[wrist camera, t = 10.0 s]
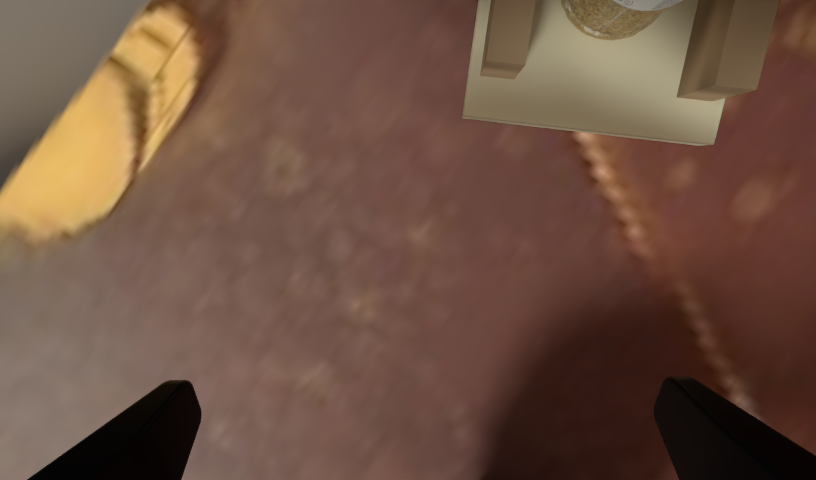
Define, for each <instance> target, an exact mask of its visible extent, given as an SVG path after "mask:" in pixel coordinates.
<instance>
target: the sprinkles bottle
mask: <svg viewBox="0 0 816 480" xmlns="http://www.w3.org/2000/svg"><path fill="white" fill-rule="evenodd" d="M680 1H682V0H561V5H562V7H563V9H564V11H565V13H566V15H567V18H568V19H569V20H570V21H571V22H572V23H573V24H574V26H575V27H576V28H577V29H579V30H580V31H581V32H582V33H584V34H585V35H588V36H591V37H594V38H595V39H599V40H618V39H619V40H620V39H623V38H628V37H632V36H634V35H635V34H637V33H638V32H640V31H642V30H644V29H645V28H647V27H648V26H649V25H650V24H652V23H653V22H654V21H655V20H656V19H657V18H658V17H659V16H660V15H661V14H662V13H663V12H665V11H666V10H667V9H669V8H670V7H672V6H673V5H675V4H677V3H679V2H680Z"/></svg>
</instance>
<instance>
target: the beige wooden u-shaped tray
mask: <svg viewBox="0 0 816 480" xmlns="http://www.w3.org/2000/svg"><path fill="white" fill-rule="evenodd" d="M779 1H780V0H682V1H680V2H679V3H677V4H675V5H673V6H672V7H670V8H669V9H667V10H666V11H665V12H663V13H662V14H661V15H660V16H659V17H658V18H657V19H656V20H655V21H654V22H653V23H652V24H650V25H649V26H648V27H647V28H645V29H644V30H642V31H640V32H638V33H637V34H635V35H634V36H632V37H628V38H623V39H620V40H619V39H618V40H599V39H595V38H594V37H591V36H588V35H585V34H584V33H582V32H581V31H580V30H579V29H577V28H576V27H575V26H574V24H573V23H572V22H571V21H570V20H569V19H568V18H567V15H566V13H565V11H564V9H563V7H562V5H561V0H478V6H477V14H476V21H475V28H474V35H473V42H472V49H471V56H470V63H469V71H468V78H467V85H466V92H465V99H464V106H463V113H462V118H465V119H474V120H482V121H491V122H500V123H508V124H517V125H525V126H534V127H543V128H551V129H560V130H568V131H577V132H586V133H594V134H603V135H611V136H620V137H628V138H637V139H646V140H654V141H663V142H671V143H680V144H689V145H697V146H702V145H712V144H714V142H715V138H716V134H717V130H718V126H719V122H720V118H721V114H722V110H723V105H724V101H725V98H727V97H731V96H735V95H739V94H743V93H747V92H750V91H754V90H757V86H758V82H759V79H760V75H761V71H762V67H763V63H764V59H765V55H766V51H767V48H768V44H769V40H770V36H771V32H772V28H773V24H774V20H775V17H776V13H777V9H778V5H779Z"/></svg>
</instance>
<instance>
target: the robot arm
mask: <svg viewBox="0 0 816 480" xmlns="http://www.w3.org/2000/svg"><path fill="white" fill-rule="evenodd" d="M654 417H655V421H656V423H657V426H658V428H659V431H660V433H661V436H662V438H663V441H664V443H665V446H666V448H667V451H668V453H669V456H670V458H671V460H672V463H673V465H674V468H675V470H676V473H677V475H678V478H679V480H816V456H815V455H813V454H812V453H810V452H809V451H807V450H806V449H804V448H802V447H801V446H799V445H798V444H796V443H794V442H793V441H791V440H790V439H788V438H787V437H785V436H783V435H782V434H780V433H779V432H777V431H776V430H774V429H772V428H771V427H769V426H768V425H766V424H764V423H763V422H761V421H760V420H758V419H757V418H755V417H753V416H752V415H750V414H749V413H747V412H745V411H744V410H742V409H741V408H739V407H738V406H736V405H734V404H733V403H731V402H730V401H728V400H727V399H725V398H723V397H722V396H720V395H719V394H717V393H715V392H714V391H712V390H711V389H709V388H708V387H706V386H704V385H703V384H701V383H700V382H698V381H696V380H695V379H693V378H691V377H667V378H666V379H665V380H664V381H663V383H662V386H661V389H660V391H659V394H658V397H657V399H656V402H655V405H654ZM200 422H201V408H200V405H199V402H198V399H197V396H196V393H195V391H194V388H193V385H192V383H191V382H189V381H187V380H170V381H166V382H164V383H162V384H161V385H159V386H158V387H157V388H155V389H154V390H152V391H151V392H150V393H148V394H147V395H145V396H144V397H143V398H141V399H140V400H138V401H137V402H136V403H134V404H133V405H131V406H130V407H129V408H127V409H126V410H124V411H123V412H122V413H120V414H119V415H117V416H116V417H114V418H113V419H112V420H110V421H109V422H107V423H106V424H105V425H103V426H102V427H100V428H99V429H98V430H96V431H95V432H93V433H92V434H91V435H89V436H88V437H86V438H85V439H84V440H82V441H81V442H79V443H78V444H77V445H75V446H74V447H72V448H71V449H69V450H68V451H67V452H65V453H64V454H62V455H61V456H60V457H58V458H57V459H55V460H54V461H53V462H51V463H50V464H48V465H47V466H46V467H44V468H43V469H41V470H40V471H39V472H37V473H36V474H34V475H33V476H32V477H30V478H29V479H27V480H181V479H182V476H183V473H184V470H185V467H186V464H187V461H188V458H189V455H190V452H191V449H192V446H193V443H194V440H195V437H196V434H197V431H198V428H199V425H200Z"/></svg>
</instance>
